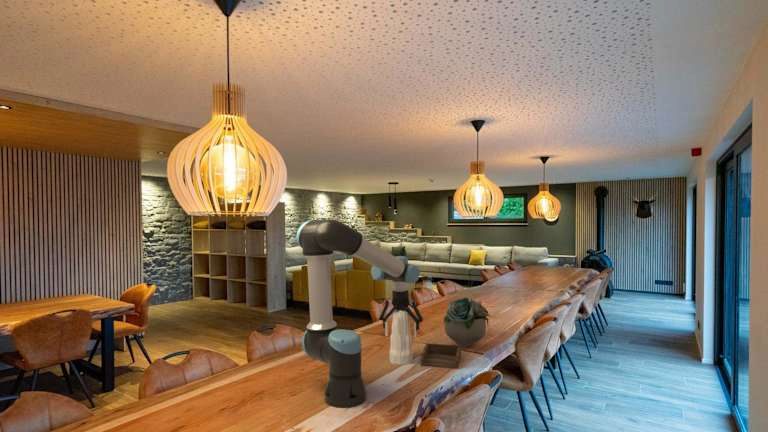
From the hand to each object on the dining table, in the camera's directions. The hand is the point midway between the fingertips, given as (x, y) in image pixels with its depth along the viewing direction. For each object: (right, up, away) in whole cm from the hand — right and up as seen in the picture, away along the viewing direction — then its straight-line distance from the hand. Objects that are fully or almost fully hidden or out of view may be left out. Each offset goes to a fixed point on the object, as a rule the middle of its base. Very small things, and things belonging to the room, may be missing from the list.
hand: (401, 336), depth 187 cm
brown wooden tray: (+18, -11, -1) cm, 21 cm away
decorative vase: (0, -11, 0) cm, 11 cm away
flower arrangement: (+34, -11, +23) cm, 43 cm away
